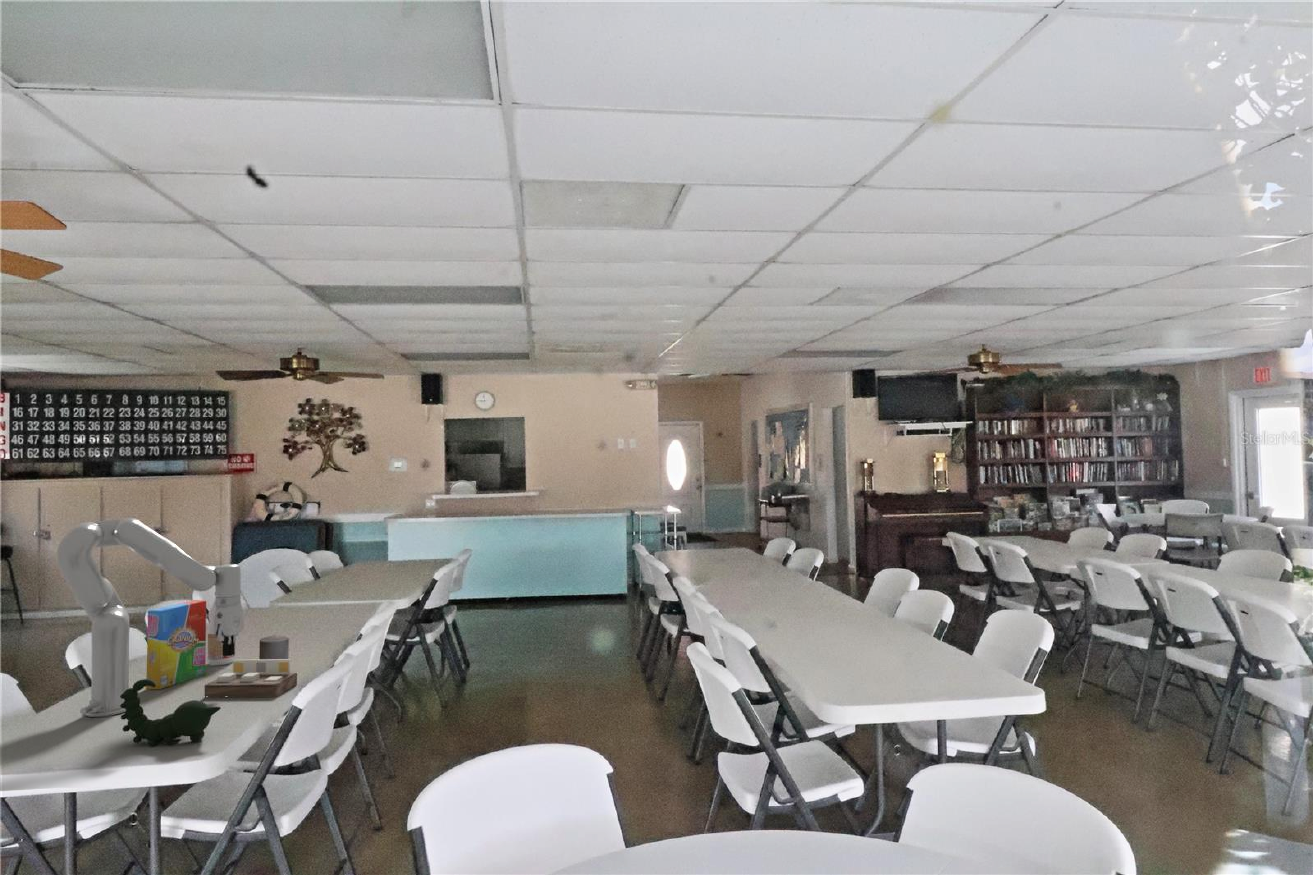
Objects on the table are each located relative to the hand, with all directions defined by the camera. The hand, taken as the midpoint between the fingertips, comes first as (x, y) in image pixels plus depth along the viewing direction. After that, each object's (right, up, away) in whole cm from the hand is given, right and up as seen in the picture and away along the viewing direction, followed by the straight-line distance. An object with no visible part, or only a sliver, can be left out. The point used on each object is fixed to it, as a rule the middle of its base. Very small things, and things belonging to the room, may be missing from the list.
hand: (228, 655), depth 255 cm
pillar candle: (+6, -13, +18) cm, 23 cm away
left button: (0, -9, -1) cm, 9 cm away
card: (+8, -9, +6) cm, 13 cm away
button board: (+8, -12, 0) cm, 15 cm away
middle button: (+8, -9, -1) cm, 12 cm away
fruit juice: (-24, -14, +38) cm, 47 cm away
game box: (-26, -13, +13) cm, 32 cm away
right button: (+16, -10, -1) cm, 19 cm away
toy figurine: (+11, -11, -47) cm, 49 cm away
